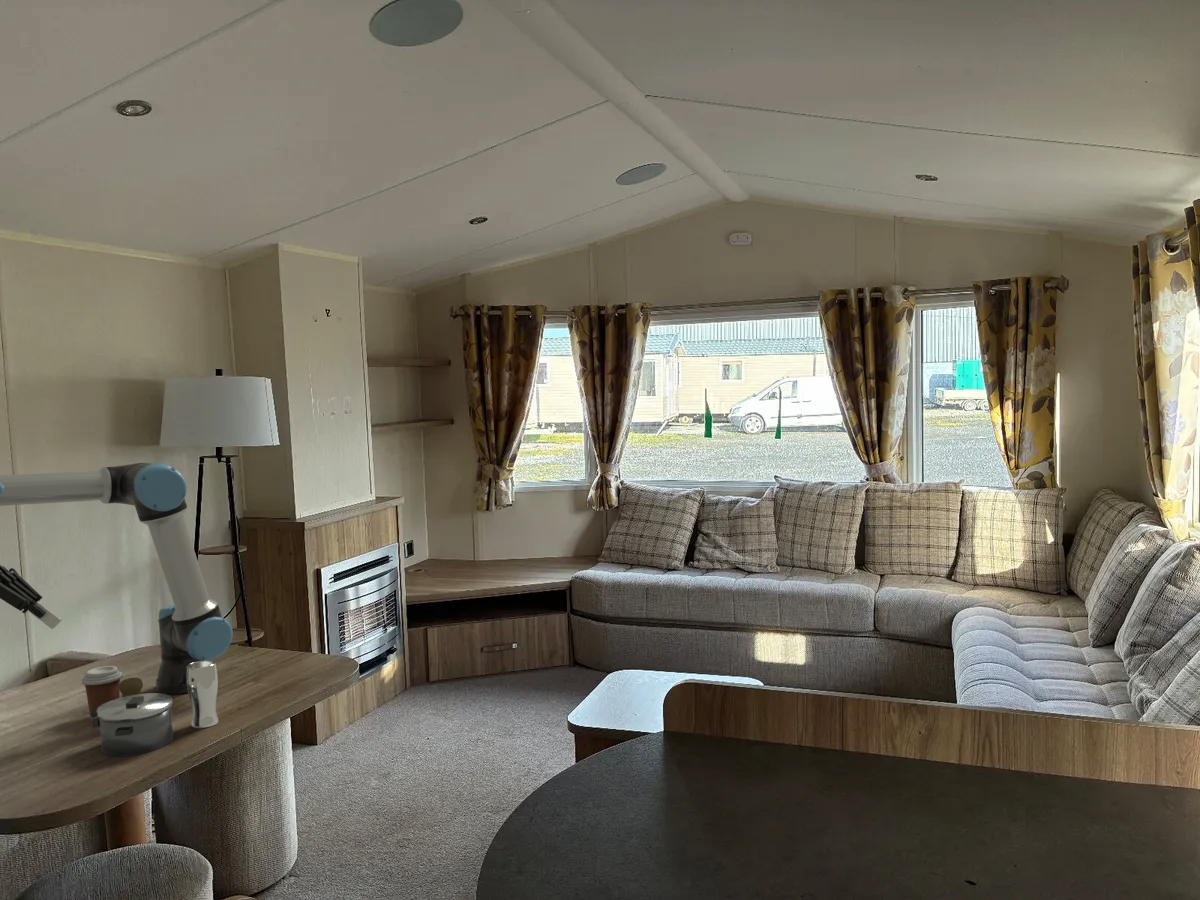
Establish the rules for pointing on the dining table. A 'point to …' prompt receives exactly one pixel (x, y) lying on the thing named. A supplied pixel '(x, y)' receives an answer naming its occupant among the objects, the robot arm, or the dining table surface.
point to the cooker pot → (135, 734)
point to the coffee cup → (101, 686)
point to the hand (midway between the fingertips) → (57, 623)
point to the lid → (133, 707)
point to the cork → (130, 686)
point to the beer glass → (203, 692)
